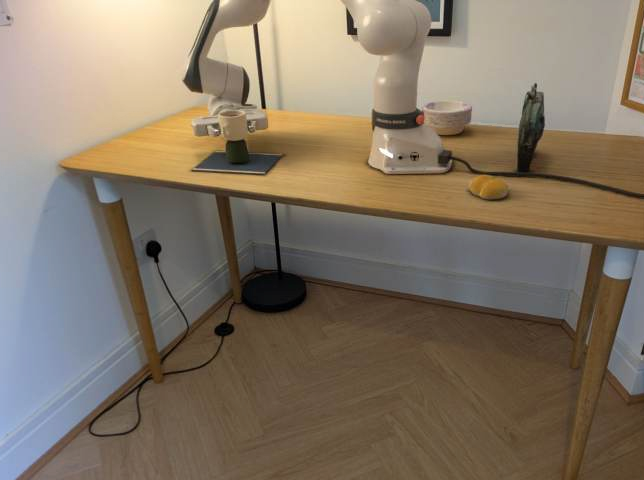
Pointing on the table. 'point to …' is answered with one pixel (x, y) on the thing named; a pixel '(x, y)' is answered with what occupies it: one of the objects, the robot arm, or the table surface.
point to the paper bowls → (447, 116)
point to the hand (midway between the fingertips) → (234, 131)
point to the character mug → (234, 135)
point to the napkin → (238, 163)
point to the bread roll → (488, 187)
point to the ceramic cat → (530, 128)
